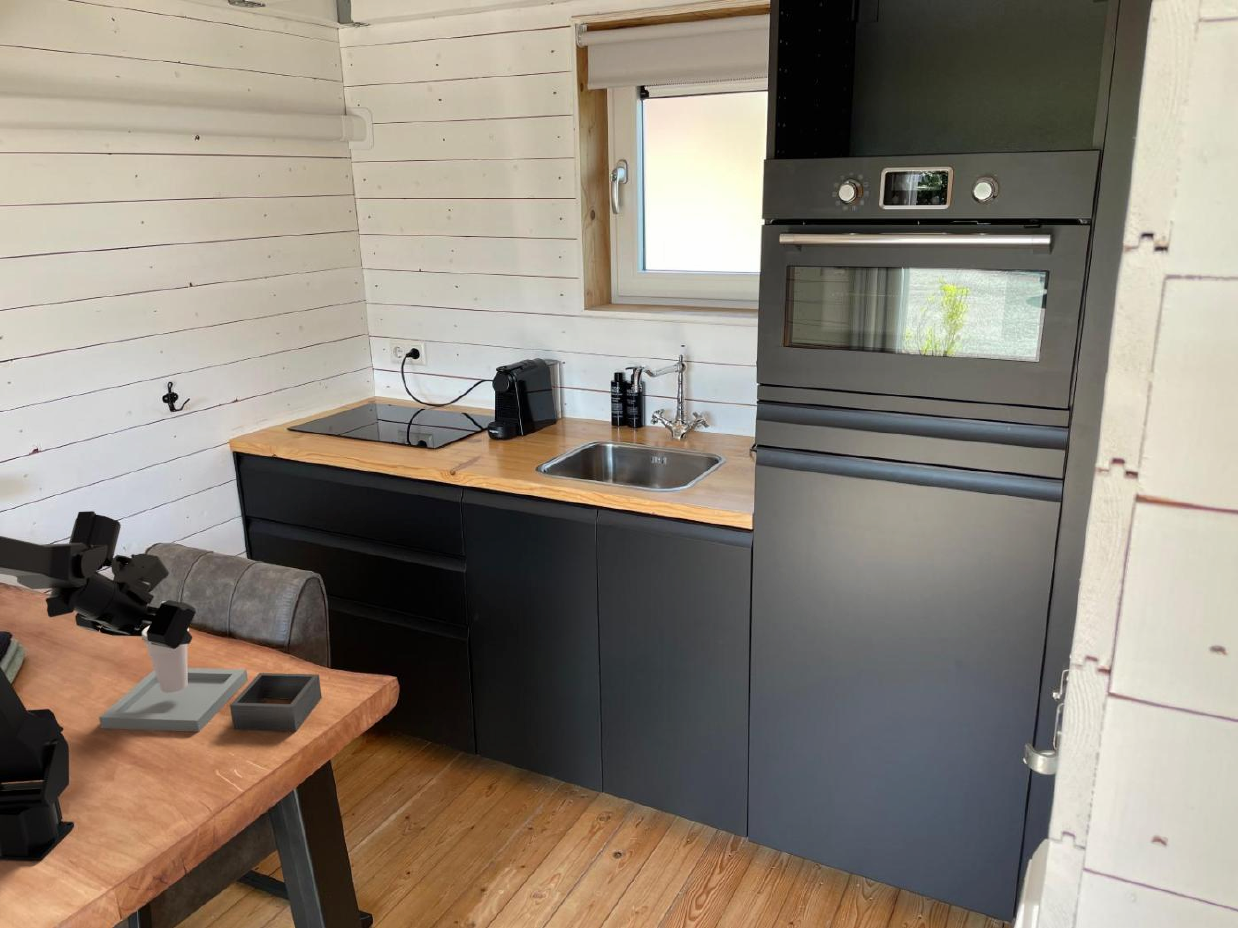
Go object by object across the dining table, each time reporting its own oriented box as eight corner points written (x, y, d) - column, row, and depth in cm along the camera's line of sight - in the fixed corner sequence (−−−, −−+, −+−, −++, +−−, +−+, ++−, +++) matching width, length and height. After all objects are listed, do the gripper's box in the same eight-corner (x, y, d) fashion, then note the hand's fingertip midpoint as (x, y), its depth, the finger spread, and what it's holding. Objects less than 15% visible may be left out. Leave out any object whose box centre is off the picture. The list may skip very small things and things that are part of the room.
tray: (199, 731, 134) (197, 720, 134) (101, 728, 136) (98, 717, 135) (247, 679, 149) (246, 669, 148) (158, 677, 150) (157, 667, 150)
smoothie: (179, 698, 137) (165, 611, 134) (141, 695, 139) (126, 609, 135) (206, 677, 144) (193, 594, 140) (169, 674, 145) (155, 591, 141)
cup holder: (296, 731, 134) (292, 706, 133) (233, 729, 135) (229, 705, 134) (321, 697, 143) (318, 674, 142) (263, 695, 144) (259, 672, 143)
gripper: (174, 552, 128) (244, 596, 140) (79, 536, 135) (154, 579, 147) (135, 628, 123) (211, 666, 135) (38, 607, 130) (119, 646, 142)
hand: (174, 636), depth 140 cm, fingers closed on smoothie, 6 cm apart
